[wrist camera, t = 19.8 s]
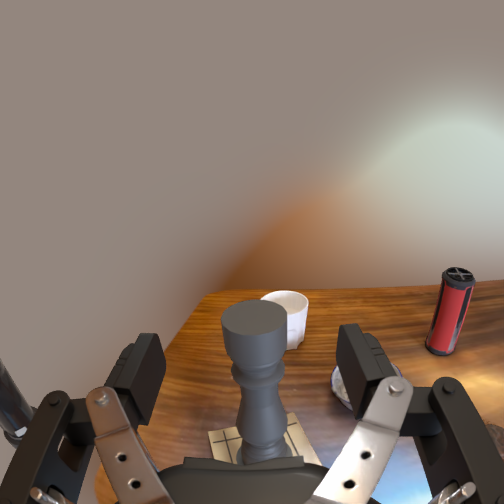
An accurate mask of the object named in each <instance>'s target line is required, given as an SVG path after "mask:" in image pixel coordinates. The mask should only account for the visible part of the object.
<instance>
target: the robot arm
mask: <svg viewBox="0 0 504 504" xmlns="http://www.w3.org/2000/svg"><path fill="white" fill-rule="evenodd" d="M336 361H337V366H338V369H339V372H340V374H341V377H342V380H343V383H344V386H345V389H346V392H347V395H348V398H349V401H350V404H351V407H352V410H353V413H354V416H355V419H361V418H362V420H360V421H359V422H358V424H357V425H356V427H355V429H354V431H353V433H352V434H351V436H350V438H349V439H348V441H347V443H346V444H345V446H344V448H343V449H342V451H341V453H340V454H339V456H338V458H337V459H336V461H335V462H334V464H333V465H332V467H331V468H330V469H328V468H326V467H324V466H321V465H317V464H312V463H305V462H304V456H303V455H301V456H291V457H279V458H271V459H268V460H264V461H260V462H256V463H251V464H247V465H238V464H234V463H229V462H225V461H220V460H216V459H211V458H193V457H184V462H183V464H180V465H176V466H172V467H169V468H166V469H164V470H162V471H160V470H159V468H158V467H157V465H156V463H155V462H154V460H153V458H152V457H151V455H150V453H149V452H148V450H147V448H146V446H145V444H144V442H143V441H142V439H141V437H140V435H139V433H138V431H137V428H138V425H147V426H148V424H149V421H150V418H151V414H152V411H153V408H154V405H155V402H156V399H157V396H158V393H159V390H160V387H161V384H162V381H163V378H164V375H165V372H166V360H165V356H164V353H163V350H162V346H161V343H160V339H159V336H158V335H157V334H155V333H140V335H139V336H138V338H137V340H136V342H135V344H133V343H131V344H130V345H128V346H127V347H126V348H125V349H124V350H123V351H122V353H121V355H120V356H119V359H118V360H117V362H116V365H115V366H114V367H113V369H112V371H111V373H110V375H109V377H108V379H107V380H106V383H105V384H104V386H103V387H98V388H95V389H93V390H92V391H91V392H89V394H88V395H87V397H86V398H82V399H70V398H69V396H68V395H67V393H65V392H64V391H53V392H50V393H49V394H47V395H46V396H45V397H44V399H43V400H42V402H41V404H40V406H39V407H38V409H37V411H36V413H35V412H34V411H33V410H32V408H31V407H30V405H29V404H28V403H27V401H26V400H25V398H24V397H23V395H22V394H21V392H20V391H19V389H18V388H17V386H16V384H15V383H14V381H13V380H12V378H11V376H10V375H9V373H8V371H7V370H6V368H5V366H4V364H3V362H2V361H1V359H0V427H1V428H2V429H3V430H4V431H5V433H8V435H9V436H10V437H11V438H13V439H14V440H18V441H20V443H19V446H18V448H17V450H16V452H15V454H14V456H13V458H12V461H11V463H10V465H9V467H8V469H7V472H6V474H5V476H4V479H3V481H2V484H1V486H0V504H77V500H78V497H79V493H80V490H81V487H82V483H83V480H84V477H85V473H86V470H87V467H88V464H89V461H90V458H91V455H92V452H93V449H94V446H96V449H97V451H98V454H99V457H100V459H101V462H102V464H103V467H104V469H105V472H106V474H107V477H108V479H109V481H110V483H111V486H112V488H113V490H114V492H115V494H116V496H117V499H118V502H116V503H115V504H381V503H379V502H378V501H376V500H375V499H373V498H371V495H372V493H373V491H374V490H375V488H376V486H377V484H378V482H379V480H380V478H381V476H382V474H383V472H384V470H385V467H386V465H387V463H388V461H389V459H390V457H391V454H392V452H393V450H394V447H395V445H396V442H397V440H398V438H399V436H413V439H414V442H415V445H416V447H417V450H418V453H419V456H420V459H421V462H422V465H423V468H424V471H425V474H426V478H427V481H428V484H429V487H430V491H431V494H432V498H433V499H432V500H431V501H430V502H429V503H428V504H504V462H503V460H502V458H501V456H500V454H499V451H498V449H497V447H496V445H495V443H494V441H493V439H492V437H491V435H490V434H489V432H488V430H487V428H486V426H485V424H484V422H483V420H482V419H481V417H480V415H479V413H478V411H477V410H476V408H475V406H474V404H473V403H472V401H471V399H470V397H469V396H468V394H467V392H466V391H465V389H464V387H463V386H462V384H461V383H460V382H459V381H458V380H456V379H454V378H451V377H441V378H439V379H437V380H436V381H435V382H434V384H433V386H432V387H414V386H412V384H411V383H410V382H409V381H408V380H407V379H405V378H402V377H399V376H397V374H396V372H395V370H394V368H393V367H392V365H391V363H390V361H389V359H388V358H387V356H386V354H385V352H384V350H383V349H382V348H381V345H380V343H379V342H378V340H377V339H376V338H375V337H374V336H372V335H371V334H370V333H362V331H361V329H360V327H359V325H358V324H357V323H354V324H346V325H340V327H339V333H338V341H337V349H336ZM62 436H64V439H63V441H62V444H61V446H60V449H59V451H58V445H59V443H60V441H61V439H62Z"/></svg>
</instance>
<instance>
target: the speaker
mask: <svg viewBox="0 0 504 504" xmlns="http://www.w3.org/2000/svg"><path fill="white" fill-rule="evenodd" d="M474 286H475V278H474V277H473V275H472V273H471V272H469V271H467V270H465V269H462V268H457V267H452V268H448V269H447V270H446V271H444V272H443V273H442V283H441V287H440V291H439V296H438V300H437V304H436V308H435V312H434V316H433V320H432V323H431V327H430V330H429V334H428V336H427V338H426V341H425V344H426V346H427V348H428V349H429V350H430V351H431V352H433V353H434V354H437V355H448V354H451V353H452V352H453V351H454V350H455V347H456V342H457V339H458V337H459V334H460V331H461V328H462V325H463V322H464V318H465V315H466V312H467V309H468V305H469V302H470V298H471V294H472V290H473V287H474Z"/></svg>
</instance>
